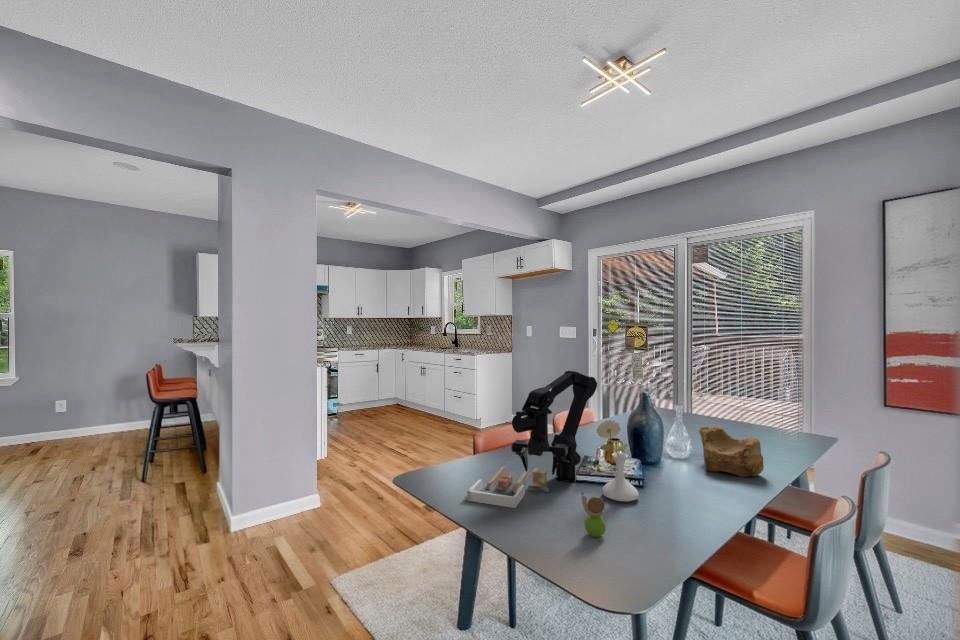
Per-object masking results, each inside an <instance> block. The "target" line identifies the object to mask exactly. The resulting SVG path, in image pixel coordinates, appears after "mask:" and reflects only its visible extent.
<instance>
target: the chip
mask: <svg viewBox="0 0 960 640" xmlns="http://www.w3.org/2000/svg"><path fill="white" fill-rule="evenodd" d="M497 486H498V487H497V490H500V491H508V490H509V488H510V486H509V479H505V478H502V477H501V478H500V479H499V480H498V481H497Z"/></svg>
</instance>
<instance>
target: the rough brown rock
mask: <svg viewBox="0 0 960 640" xmlns="http://www.w3.org/2000/svg"><path fill="white" fill-rule="evenodd" d="M698 433H699V435H700V437H701V438H700V439H701V443H702V449H703V451H702V452H703V455H702V456H703V462H704V465H705V466H704V469H705V470H706V471H708V472H726V473H730V474H733V475H734V476H738V477H742V478H749V477H754V476H755V477H756V476H757V475H760V474H761V473H762V472H763V471H764V468H765V467H764V456H763V455H762V449H761V448H762V447H761V442H760V440H759V439H757V438H753V437H747V438H745V439H739V438H735V437H732V436H731V435H729V434H728V433H727V432H726V431H725V429H724V428H722V427H719V426H711V427H709V426H701V427H699V430H698Z"/></svg>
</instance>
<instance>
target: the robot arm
mask: <svg viewBox="0 0 960 640" xmlns="http://www.w3.org/2000/svg"><path fill="white" fill-rule="evenodd" d="M570 386H572V393H573V397H572V402H571V404H570V407H569V411H568V413H567V416H566V419H565V421H564V424H563V428H562V431H561V432H560V433H559V434H555V435H554V436H553V439H552V442H551V443H549V439H548V438H549V428H548V427H549V425H548V424H549V422H548V421H549V420H548V415H550V414H553V410H551V409H550V406H552V405H553V403H554V401H555V398H556V397H557V396H559V395H560V394H562V393H563V392H564V391H566V390H567V389H568V388H570ZM597 388H598V382H597V379H596V378H595V377H594V376H587V375H586V374H585V375H584V374H582V373H580V372H578V370H576V371H575V370H566V371H565V372H564V373H563V374H561V375H560V376H559V377H557V378H556V379H554V380H553V381H551V382H549V384H547V385H545V386H544V387H538V388H535V389H533V390H531V391H530V392H529V393H528V396H527V398H526V399H525V402H524V404H523V405H522V408H521V410H519V411H516V412H515V415H514V416H513V417H512V420H511V425H512V426H511V427H512V429H513V431H514V432H516V433H517V434H520V433H524V432H530V437H529V440H528V443H527V441H526V440H524V439H522V440H520V439H516V440H515V441H514V442H513V443H511V447H510V448H511V452H512V453H514V454H515V455H517V456H518V457H519V458H520V459H521V462H522V465H523V468H524V471H526V472H527V471H528V469H529V461H528V457H529V456H537V457H542V456H543V453H546V452H547V453H551V454H552V467H551V468H552V469H551V474H552V476H554V475H556V480H557V481H561V482H562V481H563V482H571V483H575V482H576V480H577V478H576V479H575V477H576V475H577V466H578V465H579V464H580V463H581V459H582V457H581V455H580V454H579V453H578V451H577V447H578V445H577V441H576V436H577V432H578V429H579V427H580V423H581V420H582V417H583V413H584V411H585V408H586V404H587V402H588V400H590V399H591V398H592V397H593V396H594V394H595V392H596V391H597ZM528 455H529V456H528Z"/></svg>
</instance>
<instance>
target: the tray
mask: <svg viewBox="0 0 960 640" xmlns="http://www.w3.org/2000/svg"><path fill="white" fill-rule="evenodd" d="M481 490H483V479H481V478H479V479H478V480H477V481H476V482H475V483H474V484H473V485H471V487H470V488H469V489H468V490H467V496H466V497H467V500H466V501H469V502H475V503H482V504H485V505H486V504H488V505H495V506H499V507H500V506H501V507H507V508H512V509H516V508H517V506H518V505H519V503H520V502H521V501H522V499H523V498H524V496H525V494H526V491H525V484H523V485H521V486H520V488H519V489H518V491H517V492H516V493H514V495H512V496H511V495H505V494H499V493H491V492H486V491H485V492H484V491H481Z"/></svg>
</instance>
